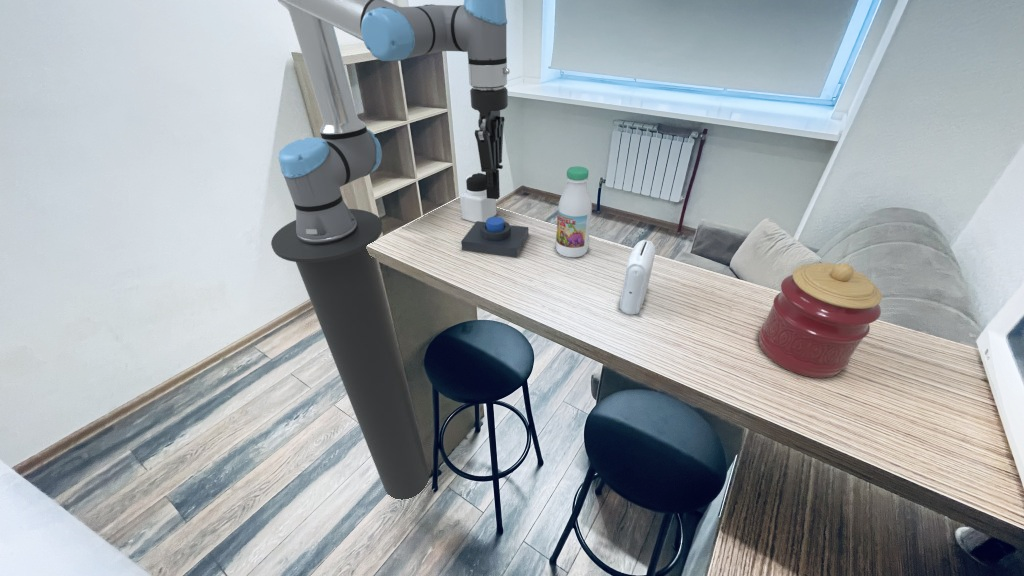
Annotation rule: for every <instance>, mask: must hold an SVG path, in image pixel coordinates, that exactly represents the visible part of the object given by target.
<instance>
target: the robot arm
mask: <svg viewBox="0 0 1024 576" xmlns="http://www.w3.org/2000/svg"><path fill="white" fill-rule="evenodd" d="M277 2H278V3H279V4H280V5H281V6H282V7H284V8H285V9H286V10H287V11H288V14H289V16H290V19H291V22H292V26H293V30H294V32H295V36H296V38H297V42H298V45H299V48H300V51H301V54H302V58H303V61H304V64H305V67H306V71H307V74H308V77H309V81H310V84H311V88H312V90H313V93H314V96H315V100H316V103H317V107H318V109H319V113H320V116H321V119H322V126H321V127H320V129H319V134H320V137H316V136H314V137H313V136H312V137H306V138H303V139H297V140H294V141H291V142H290V143H288V144H286V145H284V146H283V147H281V149H280V150H279V152H278V158H277V159H278V162H279V166H280V172H281V174H282V176H283V178H284V180H285V183H286V186H287V188H288V192H289V194H290V197H291V200H292V203H293V205H294V208H295V220H296V233H297V236H298V239H299V240H300V241H301V242H302V243H305V244H309V245H326V244H331V243H335V242H339V241H341V240H344V239H346V238H348V237H350V236H351V235H352V234H354V233H355V232H356V230H357V228H358V226H357V222H356V219H355V217H354V216H353V214H352V213H351V211H350V210H349V209H350V208H349V207H348V206H347V204H346V202H345V201H344V198H343V195H342V191H341V187H343V186H345V185H347V184H350V183H352V182H354V181H356V180H359V179H360V178H364V177H367V176H369V175H370V174H371V173H373V172H375V171H376V170H377V169H378V168H379V166H380V165H381V162H382V156H383V151H382V147H381V143H380V141H379V139H378V137H375V134H374V132H373V131H371V130H370V129H368V128H367V125H366V123H365V122H364V121H363V120H361V119H360V118H359V117H358V113H357V110H356V105H355V102H354V98H353V94H352V90H351V87H350V83H349V80H348V79H349V78H348V75H347V71H346V67H345V64H344V60H343V57H342V53H341V49H340V45H339V41H338V37H337V34H336V30H335V28H336V29H339V30H341V31H342V32H345V33H347V34H348V35H350V36H352V37H354V38H356V39H359V40H361V41H362V42H363V43H364V45H365V48H366V49H367V50H368V51H369V52H370V53H371V55H372V56H373V57H374V59H377V60H379V61H381V62H400V61H403V60H405V59H411V58H415V57H419V56H425V55H426V56H427V55H431V54H436V53H441V52H463V53H467V61H468V63H467V64H468V65H467V66H468V82H469V86H471V89H470V90H469V94H470V107H471V108H472V109H473V110H475V111H477V112H478V113H479V115H478V116H479V117H478V122H477V123H478V124H477V125H478V128H479V129H475V131H474V137H475V139H476V144H477V151H478V156H479V157H478V158H479V164H480V171H481V173H485V175H486V192H487V198H490V199H496V200H499V199H500V196H501V193H500V191H501V190H500V170H503V169H504V165H502V162H503V147H504V145H503V142H504V126H505V121H506V119H505V116H501V111H503V110H505V109H507V108H508V105H509V100H508V99H509V96H508V95H509V93H508V92H509V91H508V88H507V87H506V86H507V84H508V75H509V74H510V73H511V72H510V69H509V68H507V67H508V57H507V24H508V19H507V5H506V0H463V4H459V5H451V4H449V5H448V4H446V5H445V4H432V3H430V4H423V5H417V6H400V5H396V4H395V3H392V2H390V1H388V0H277Z"/></svg>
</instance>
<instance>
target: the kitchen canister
mask: <svg viewBox="0 0 1024 576" xmlns="http://www.w3.org/2000/svg"><path fill="white" fill-rule="evenodd" d="M780 290H781V292H779V293H778V294H776V295H775V297H774V299H773V302H772V303H773V304H772V306H771V309H770V310H769V313H768V314H767V317H766V319H765V321H764V322H763V323H762V325H761V327H760V329H759V336H758V343H759V346H760V348H761V350H762V351H763V353H765V355H766V356H767V357H768V358H769V359H770V360H771V361H773V362H774V363H776V364H777V365H779V366H780V367H782V368H783V369H786V370H787V371H790V372H793V373H795V374H797V375H801V376H804V377H805V376H806V377H810V378H820V379H822V378H831V377H835V376H836V375H838V374H839V373H840V372H841V371H842V370H844V369H845V368H846V367H847V366H848V364H849V363H850V361H851V359H852V356H853V355H854V353H855V351H856V350H857V349H858V347H859V346H860V344H861V343H862V341H863V339H864V338H866V337H867V336H868V335H869V334H870V331H871V330H870V329H871V327H870V325H871V324H872V323H874V322H876V321H877V320H879V318H880V317H881V314H882V310H881V309H882V308H881V306H880V303H881V302H882V300H883V294H882V292H881V290H880V289H879V287H877V285H876V284H875V283H874V282H872V280H871V279H870V278H869V277H868V276H866V275H865V274H863V273H862V272H860V271H857V270H855V269H854V267H853V266H852V265H851V264H849V263H846V262H841V263H830V262H817V263H807V264H803V265H799V266H797V267H796V268H795V269H794V270H793V272H792V274H791V275H788V276H786V277H784V279H783V280H782V281H781V283H780Z"/></svg>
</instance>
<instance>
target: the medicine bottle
mask: <svg viewBox="0 0 1024 576" xmlns="http://www.w3.org/2000/svg"><path fill="white" fill-rule="evenodd" d="M464 181H465V189H466V191H465V192H463V193H461V194H460V195H459V200H460V201H459V202H460V209H461V218H462V220H465V221H469V222H472V223H476V222H477V221H480V222H486V220H487V219H488V218H490V217H496V216H497V213H498V212H497V199H490V198H487V192H486V173H483V172H473V173H470V174H467V176H466V177H465V180H464Z"/></svg>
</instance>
